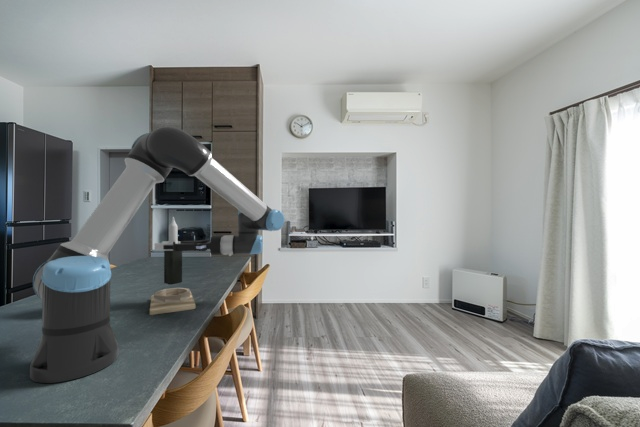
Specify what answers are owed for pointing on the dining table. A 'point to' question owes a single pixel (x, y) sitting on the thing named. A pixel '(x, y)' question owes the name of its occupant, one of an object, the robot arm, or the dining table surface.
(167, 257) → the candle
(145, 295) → the dining table surface
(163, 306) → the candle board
